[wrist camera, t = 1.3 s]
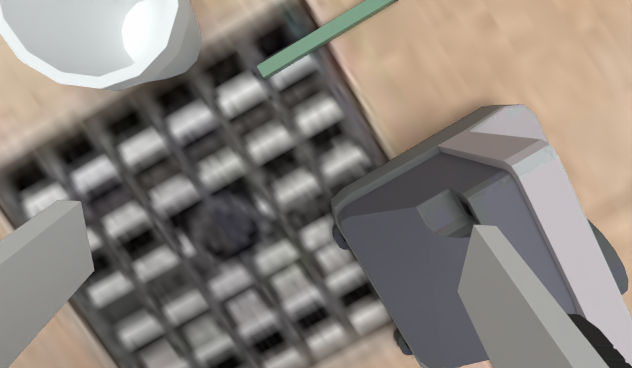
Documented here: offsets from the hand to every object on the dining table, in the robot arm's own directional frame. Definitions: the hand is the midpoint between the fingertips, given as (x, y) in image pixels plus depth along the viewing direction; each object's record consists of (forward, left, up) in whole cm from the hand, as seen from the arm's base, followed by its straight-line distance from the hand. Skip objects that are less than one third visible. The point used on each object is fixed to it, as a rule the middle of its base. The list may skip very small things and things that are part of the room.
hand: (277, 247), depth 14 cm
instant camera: (+10, -14, -22) cm, 28 cm away
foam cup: (-3, +14, -22) cm, 27 cm away
